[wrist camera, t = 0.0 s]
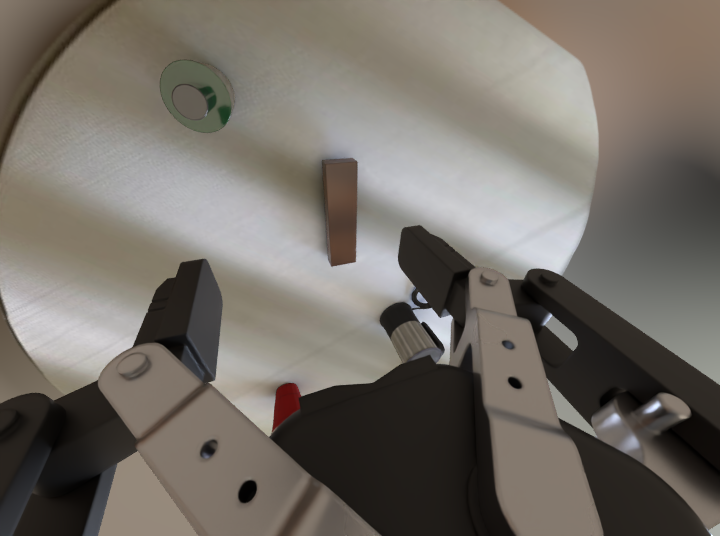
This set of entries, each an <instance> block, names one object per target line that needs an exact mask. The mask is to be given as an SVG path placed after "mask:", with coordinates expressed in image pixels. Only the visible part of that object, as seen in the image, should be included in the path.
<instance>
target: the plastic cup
mask: <svg viewBox="0 0 720 536" xmlns="http://www.w3.org/2000/svg"><path fill="white" fill-rule="evenodd" d="M299 397H301V395H300V392H299V389H298V387H297V385H296V384H294V383H288V384H284V385H282V386H280V387H279V388H278V389H277V391H276V399H275V407H274V420H273V429H272V433H273V432H274V431H275V429H276V428H277V427H278V426H279V425H280V424H281V423H282V422H283V421H284V420H285V419H287V418H288V417H289V416H290V415H291V414H293V413H294V412H296V411H297V410H299V409H300V404H299ZM272 433H271V434H272Z"/></svg>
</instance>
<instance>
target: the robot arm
mask: <svg viewBox="0 0 720 536" xmlns="http://www.w3.org/2000/svg"><path fill="white" fill-rule="evenodd" d="M398 262H399V266H400V268H401V269H402V271H403V272H404V273H405V274H406V276H407V277H408V278H409V279H410V281H411V282H412V283H413V285H414V286H415V287H416V288H417V290H418V291H419V292H420V293H421V295H422V296H423V297H424V298H425V300H426V301H427V302H428V303H429V305H430V306H431V307H432V309H433V310H434V311H435V312H436V314H437V315H438V316H439V317H440V318H441V317H445V316H448V315H451V316H452V317H453V319H452V322H451V342H450V361H449V365H446V364H436V363H435V362H434V360H433V359H432V357H431V355H427V356H424V357H421V358H418V359H415V360H412V361H409V362H406V363H403V364H401V365H399V366H398V367H396V368H395V369H393V370H392V371H390V372H389V373H387V374H386V375H384V376H383V377H381V378H380V379H378V380H377V381H375V382H373V383H368V384H353V385H338V386H332V387H329V388H326V389H323V390H320V391H317V392H314V393H311V394H308V395H305V396H302V397H299V404H300V409H299V410H297V411H296V412H294V413H293V414H291V415H290V416H289V417H288V418H287V419H285V420H284V421H283V422H282V423H281V424H280V425H279V426H278V427H277V428H276V429H275V431H274V432H273V433H272V434H271V436H270V437H268V436H267V435H266V434H265V433H264V432H262V431H261V430H260V429H259V428H258V427H257V426H256V425H255V424H254V423H253V422H252V421H250V420H249V419H248V418H247V417H246V416H245V415H244V414H243V413H242V412H241V411H240V410H238V409H237V408H236V407H235V406H234V405H233V404H232V403H231V402H230V401H229V400H228V399H226V398H225V397H224V396H223V395H222V394H221V393H220V392H219V391H218V390H217V389H216V388H214V387H213V386H212V385H211V384H209V383H208V382H211V381H214V380H215V376H216V366H217V356H218V346H219V336H220V326H221V316H222V305H223V304H222V296H221V292H220V289H219V287H218V284H217V282H216V280H215V277H214V275H213V272H212V270H211V268H210V265H209V263H208V261H207V260H206V259H199V260H193V261H187V262H182V263H181V264H180V266H179V269H178V272H177V275H176V277H175V278H169V279H167V280H166V281H164V282H163V283H162V284H161V285H160V286H159V287H158V288H157V289H156V292H155V294H154V296H153V299H152V303H151V304H150V306H149V309H148V313H146V316H145V318H144V321H143V323H142V326H141V328H140V330H139V333H138V335H137V338H136V340H135V342H134V345H133V347H132V348H130V349H128V350H126V351H124V352H123V353H121V354H119V355H118V356H117V357H115V358H114V359H113V360H112V361H111V362H110V363H108V364H107V366H106V367H105V368H104V369H103V371H102V372H101V374H100V376H99V379H98V380H97V381H95V382H93V383H91V384H89V385H87V386H85V387H83V388H80V389H78V390H76V391H74V392H72V393H69V394H67V395H65V396H63V397H61V398H59V399H57V400H54V401H53V400H52V399H50V398H49V397H47V396H46V395H44V394H41V393H29V394H25V395H20V396H17V397H15V398H12V399H10V400H7V401H5V402H3V403H1V404H0V536H98V533H99V530H100V526H101V522H102V519H103V515H104V511H105V507H106V504H107V500H108V496H109V493H110V489H111V485H112V481H113V478H114V474H115V470H116V467H117V463H119V462H120V461H122V460H123V459H125V458H127V457H128V456H130V455H132V454H133V453H135V452H137V451H138V452H139V453H140V455H141V456H142V457H143V459H144V460H145V462H146V463H147V465H148V466H149V467H150V469H151V470H152V472H153V473H154V474H155V476H156V477H157V479H158V480H159V481H160V483H161V484H162V485H163V487H164V488H165V490H166V491H167V493H168V494H169V495H170V497H171V498H172V499H173V501H174V502H175V504H176V505H177V506H178V508H179V509H180V511H181V512H182V513H183V515H184V516H185V518H186V519H187V520H188V522H189V523H190V525H191V526H192V527H193V529H194V530H195V532H196V533H197V534H198V536H712V535H711V533H710V532H709V529H711V528H713V527H714V526H716V525H717V524H719V523H720V385H719V384H717V383H716V382H714V381H713V380H712V379H710V378H709V377H707V376H706V375H704V374H703V373H701V372H700V371H699V370H697V369H696V368H694V367H693V366H691V365H690V364H688V363H687V362H685V361H684V360H682V359H681V358H680V357H678V356H677V355H675V354H674V353H672V352H671V351H669V350H668V349H667V348H665V347H664V346H662V345H661V344H659V343H658V342H656V341H655V340H654V339H652V338H650V337H649V336H647V335H646V334H645V333H643V332H642V331H640V330H639V329H638V328H636V327H635V326H633V325H632V324H630V323H629V322H627V321H626V320H624V319H623V318H622V317H620V316H619V315H617V314H616V313H614V312H613V311H611V310H610V309H609V308H607V307H606V306H604V305H603V304H601V303H599V302H598V301H597V300H595V299H594V298H593V297H591V296H590V295H588V294H587V293H585V292H584V291H582V290H581V289H579V288H578V287H577V286H575V285H573V284H572V283H571V282H569V281H568V280H566V279H565V278H564V277H562V276H560V275H559V274H557V273H554V272H552V271H549V270H545V269H531V270H529V271H528V272H527V274H526V276H525V278H524V280H510V279H507V278H506V277H505V276H504V275H503V274H501V273H500V272H498V271H496V270H493V269H490V268H484V267H478V268H476V267H474V266H473V265H472V264H471V263H470V262H468V261H467V260H466V259H465V258H464V257H463V256H461V255H460V254H459V253H458V252H457V251H456V252H455V250H454V249H453V248H452V247H451V246H449V245H448V244H447V243H446V242H445V241H444V240H442V239H441V238H439V237H437V236H435V235H432V234H430V233H429V232H428V231H426V230H425V229H424V228H423V227H422V226H420V225H418V226H411V227H405V228H403V229H402V232H401V239H400V246H399V253H398ZM552 315H553V316H554V317H555V318H557V319H558V320H559V321H560V322H561V323H562V324H564V325H565V326H566V327H567V328H568V329H569V330H571V331H572V332H573V333H574V334H575V336H576V337H577V340H578V346H577V348H576V349H575V350H574V351H572V350H571V349H570V348H569V347H568V346H567V345H565V344H564V343H563V342H562V341H561V340H560V339H559V338H558V337H557V336H556V335H555V334H554V333H552V332H551V331H550V330H549V329H548V328H547V327H546V326H545V324H546V323H547V322H548V320H549V319H550V317H551V316H552ZM547 379H548V380H549V381H550V382H551V383H552V384H553V385H554V386H555V387H556V388H557V390H558V391H559V392H560V393H561V394H562V395H563V396H564V397H565V398H566V399H567V401H568V402H569V403H570V404H571V405H572V406H573V407H574V408H575V409H576V410H577V411H578V412H579V414H580V415H581V416H582V417H583V418H584V419H585V420H586V421H587V422H588V423H589V424H590V425H591V427H592V428H593V429H594V431H595V433H596V435H597V436H595V437H594V436H592V435H590V434H588V433H586V432H584V431H582V430H580V429H579V428H577V427H575V426H573V425H571V424H569V423H567V422H565V421H563V420H561V419H560V418H558V416H557V413H556V409H555V406H554V402H553V399H552V395H551V392H550V388H549V385H548V381H547Z"/></svg>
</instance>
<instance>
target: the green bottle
mask: <svg viewBox="0 0 720 536" xmlns="http://www.w3.org/2000/svg"><path fill="white" fill-rule="evenodd" d="M160 91H161V96H162V99H163V101H164V103H165V105H166V107H167V109H168V110H169V112H170V113H171V114H172V115H173V116H174V118H176V119H177V120H178V121H179V122H180V123H181V124H183V125H184V126H186V127H188V128H190V129H192V130H194V131H198V132H203V133H211V132H215V131H218V130H220V129H221V128H223V127H224V126H225V125H226V124H227V122H228V121H229V118H230V116H231V113H232V110H233V107H234V103H235V95H234V90H233V88H232V85H231V83H230V82H229V80H228V79H227V77H226V76H225V75H224V74H223V73H222V72H221V71H220V70H218V69H217V68H215V67H213V66H211V65H209V64H205V63H200V62H196V61H191V60H178V61H175V62H172V63H171V64H169V65H168V66H167V67H166V68H165V69H164V71H163V73H162V75H161V79H160Z"/></svg>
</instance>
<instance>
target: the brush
mask: <svg viewBox="0 0 720 536" xmlns="http://www.w3.org/2000/svg"><path fill="white" fill-rule="evenodd" d="M322 169H323V184H324V199H325V215H326V230H327V246H328V260H329V263H330V265H331V267H332V266H337V265H343V264H348V263H353V262H356V226H357V161H356V160H355V159H353V158H346V159H332V160H322Z"/></svg>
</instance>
